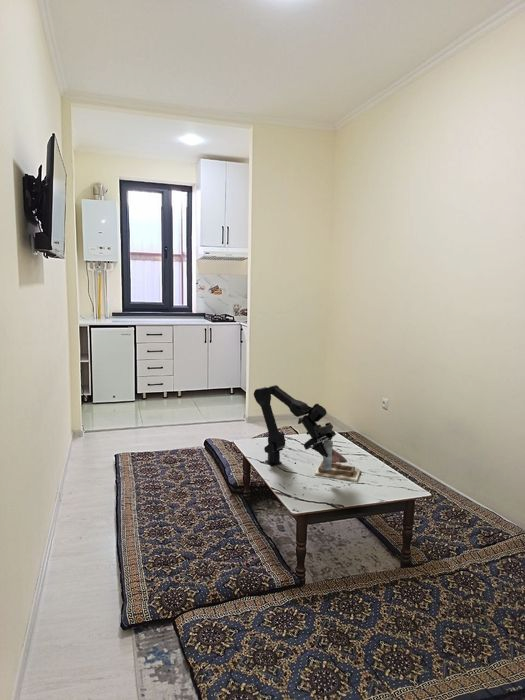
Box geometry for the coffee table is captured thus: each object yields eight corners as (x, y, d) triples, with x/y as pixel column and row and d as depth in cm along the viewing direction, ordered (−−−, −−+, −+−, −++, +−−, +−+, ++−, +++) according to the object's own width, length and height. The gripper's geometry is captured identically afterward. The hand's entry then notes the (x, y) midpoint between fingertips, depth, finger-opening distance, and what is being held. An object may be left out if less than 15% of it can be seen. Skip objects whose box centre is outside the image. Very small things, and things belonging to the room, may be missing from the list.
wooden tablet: (311, 443, 267) (327, 440, 269) (311, 447, 267) (327, 444, 270) (330, 461, 242) (348, 458, 244) (330, 465, 242) (348, 462, 245)
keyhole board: (314, 474, 228) (315, 468, 227) (320, 464, 240) (320, 459, 239) (356, 481, 221) (357, 475, 221) (360, 471, 233) (360, 465, 233)
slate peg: (320, 467, 219) (322, 440, 217) (327, 466, 221) (328, 439, 219) (326, 470, 216) (327, 443, 214) (333, 469, 218) (334, 442, 216)
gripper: (310, 422, 211) (329, 452, 205) (333, 413, 224) (352, 442, 219) (295, 434, 217) (314, 464, 212) (319, 425, 231) (337, 453, 225)
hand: (330, 455), depth 217 cm, fingers closed on slate peg, 4 cm apart
